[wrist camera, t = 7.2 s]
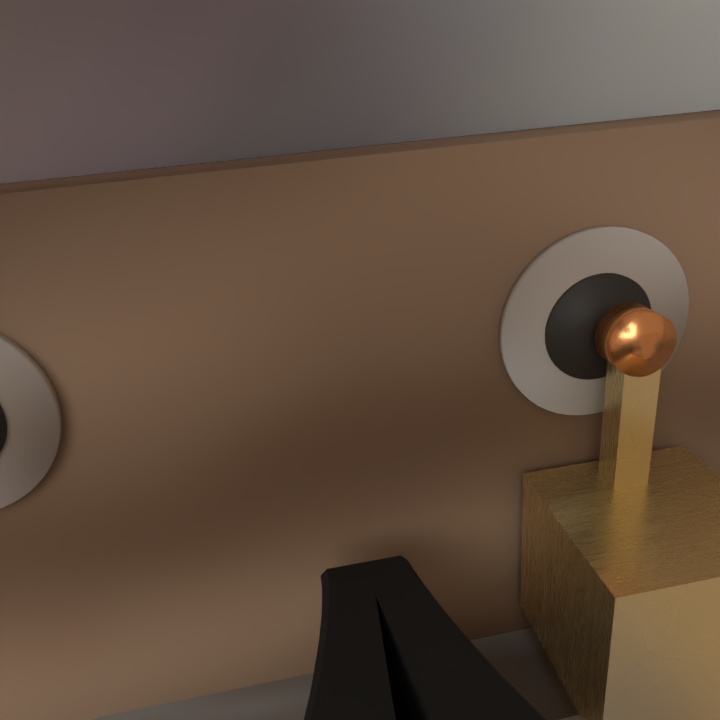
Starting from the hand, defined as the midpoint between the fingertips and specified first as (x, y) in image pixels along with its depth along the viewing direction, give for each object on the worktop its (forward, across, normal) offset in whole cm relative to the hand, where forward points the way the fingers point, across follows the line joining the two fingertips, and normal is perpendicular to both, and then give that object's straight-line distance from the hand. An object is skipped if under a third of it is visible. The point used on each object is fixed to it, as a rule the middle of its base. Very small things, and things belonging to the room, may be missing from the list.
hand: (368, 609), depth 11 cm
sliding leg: (+1, -4, -1) cm, 5 cm away
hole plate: (+2, -5, -2) cm, 6 cm away
